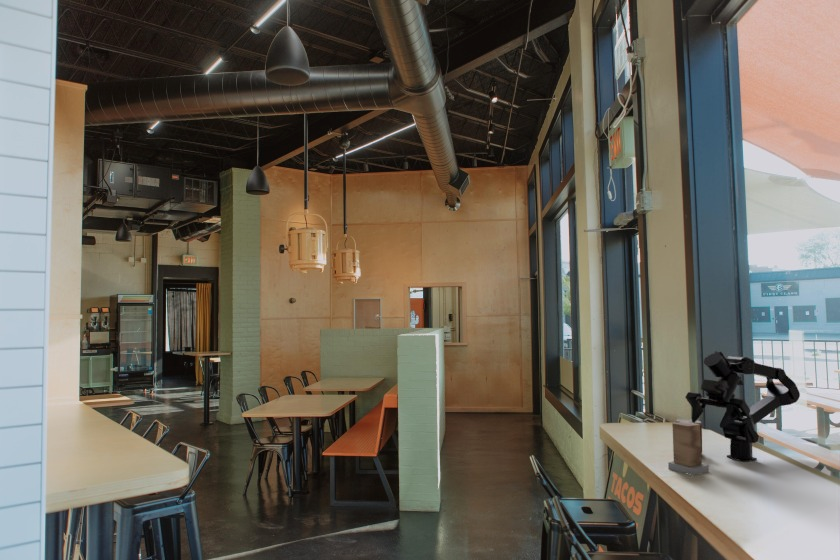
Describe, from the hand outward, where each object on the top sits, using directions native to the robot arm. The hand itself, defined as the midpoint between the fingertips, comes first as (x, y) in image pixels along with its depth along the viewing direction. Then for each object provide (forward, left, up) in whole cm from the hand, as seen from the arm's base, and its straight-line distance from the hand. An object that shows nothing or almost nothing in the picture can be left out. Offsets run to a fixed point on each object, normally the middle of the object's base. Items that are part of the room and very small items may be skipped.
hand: (706, 424), depth 173 cm
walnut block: (+10, +1, -11) cm, 15 cm away
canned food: (-8, -14, -13) cm, 21 cm away
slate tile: (+10, +1, -13) cm, 17 cm away
